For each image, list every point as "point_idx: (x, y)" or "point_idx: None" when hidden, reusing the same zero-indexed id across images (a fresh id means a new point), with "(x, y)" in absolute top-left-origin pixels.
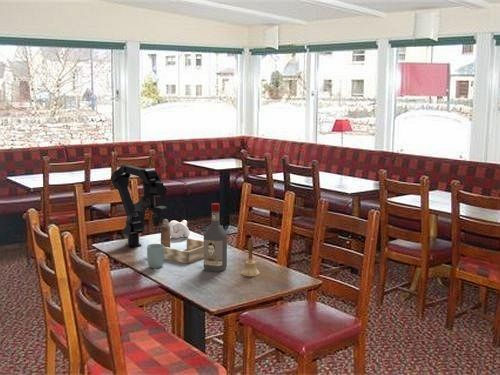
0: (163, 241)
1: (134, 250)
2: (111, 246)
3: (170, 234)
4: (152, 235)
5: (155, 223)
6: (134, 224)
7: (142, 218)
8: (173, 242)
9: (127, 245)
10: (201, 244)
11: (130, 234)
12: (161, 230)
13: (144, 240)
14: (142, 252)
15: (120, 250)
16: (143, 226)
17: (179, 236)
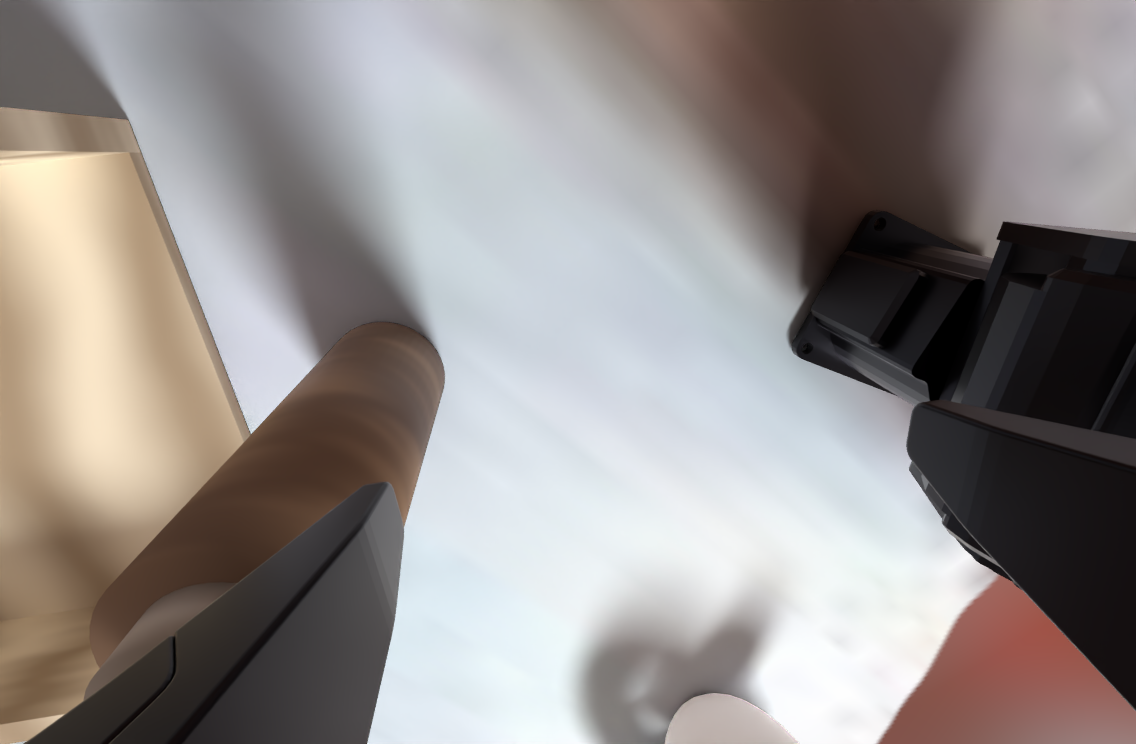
0: (304, 387)
1: (734, 163)
2: (1102, 83)
3: (740, 713)
4: (930, 635)
5: (338, 531)
6: (1132, 344)
7: (1074, 531)
8: (619, 630)
9: (932, 235)
10: (12, 687)
11: (1006, 253)
12: (272, 492)
13: (897, 501)
14: (586, 169)
15: (890, 23)
16: (944, 509)
17: (667, 738)
